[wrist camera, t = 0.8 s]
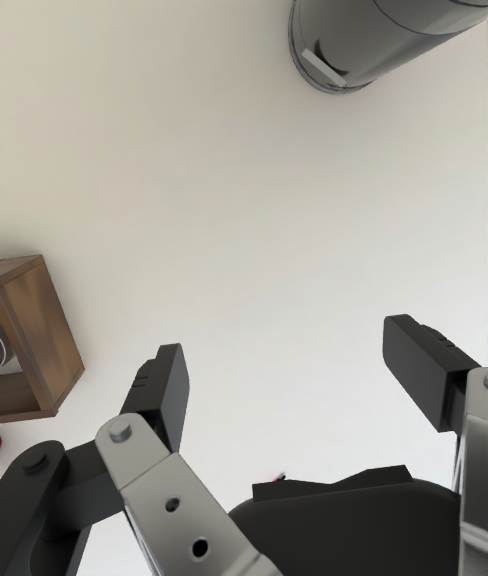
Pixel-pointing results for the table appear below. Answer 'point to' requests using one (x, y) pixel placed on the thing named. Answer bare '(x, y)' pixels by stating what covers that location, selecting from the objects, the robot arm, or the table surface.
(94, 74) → the table surface
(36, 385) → the wooden box
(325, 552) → the robot arm
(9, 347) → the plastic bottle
